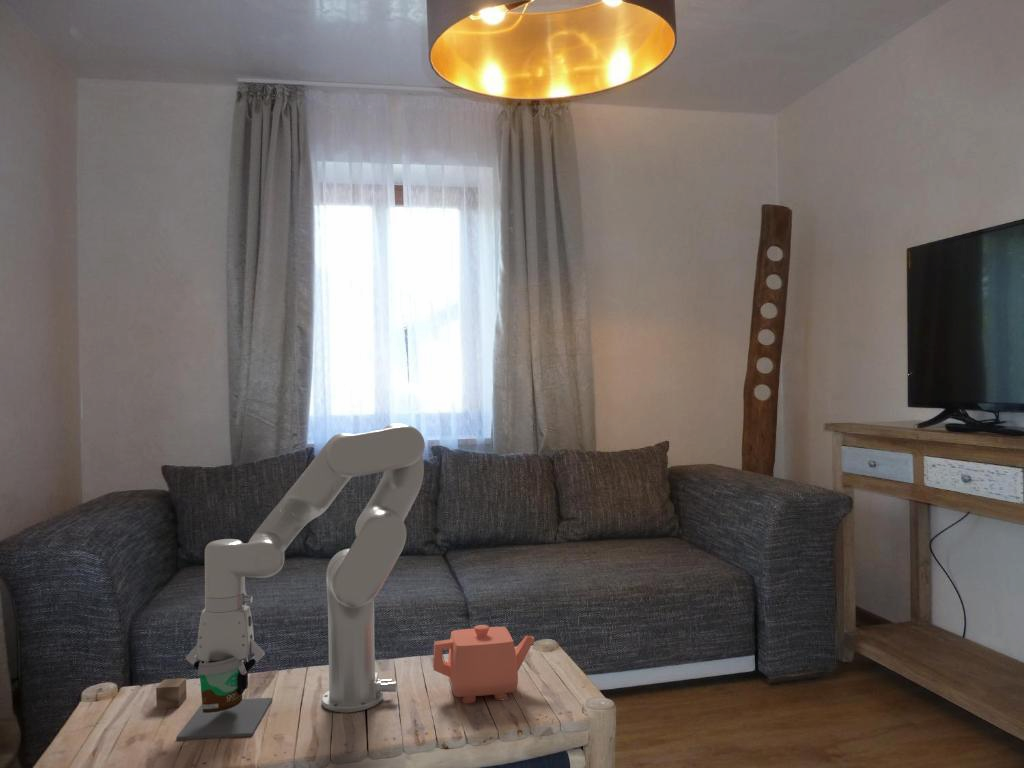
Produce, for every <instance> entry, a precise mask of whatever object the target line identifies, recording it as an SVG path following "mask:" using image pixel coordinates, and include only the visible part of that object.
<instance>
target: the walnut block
mask: <svg viewBox="0 0 1024 768" xmlns="http://www.w3.org/2000/svg"><path fill="white" fill-rule="evenodd" d="M155 690H156V691H155V695H156V696H155V697H156V698H155V699H156V704H155V705H156V710H161V709H162V710H166V709H179V708H180V707H181V706H182V705H183V704H184V703H185V701H187V677H182V678H167V679H163V680H162V681H161V682H160V683H159V684H158V685H157V686H156V689H155Z"/></svg>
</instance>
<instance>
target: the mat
mask: <svg viewBox="0 0 1024 768" xmlns="http://www.w3.org/2000/svg"><path fill="white" fill-rule="evenodd" d="M272 700H273V697H260V698H259V697H257V698H242V701H241V702H240V703H239V704H238V705H236V706H234V707H233V708H230V709H227V710H223V711H219V712H211V713H203V706H202V704H200V706H199V707H198V709H197V710H196V711H195V713H194V714H193V715H192V716H191V718H190V719H189V720H188V721H187V723H186V724H185V726H184V727H182V729H181V730H180V732H179V733H178V734H177V736H176V741H184V740H202V739H203V738H207V739H222V737H226V738H238V737H239V738H240V737H243V738H244V737H253V736H254V734H255V732H256V731H257V729H258V728H259V726H260V724H261V722H262V720H263V718H264V717H265V715H266V713H267V711H268V710H269V708H270V706H271V705H272V702H273V701H272ZM203 740H204V739H203Z"/></svg>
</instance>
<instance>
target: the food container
mask: <svg viewBox="0 0 1024 768" xmlns="http://www.w3.org/2000/svg"><path fill="white" fill-rule="evenodd" d="M248 658H249V657H248ZM248 658H247V659H248ZM248 660H249V659H248ZM244 663H246V659H245V660H244ZM240 666H241V661H239V660H236V658H235V657H233V658H230V659H227V660H223V661H211V662H208V663H199V667H198V670H197V675H198V676H199V682H200V692H201V693H200V694H201V705H202V706H203V713H211V712H219V711H223V710H227V709H230V708H233V707H234V706H236V705H238V704H239V703H240V702H241V701H242V699H243V694H242V695H239V694H238V675H239V674H240V670H239V668H238V667H240Z"/></svg>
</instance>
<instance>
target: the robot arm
mask: <svg viewBox="0 0 1024 768" xmlns="http://www.w3.org/2000/svg"><path fill="white" fill-rule="evenodd" d="M425 443H426V442H425V439H424V435H422V433H421V432H420V431H419V430H418V428H416V427H414V426H411V425H408V424H405V423H400V422H394V423H390V424H387V425H386V426H385V427H384V428H382V429H380V430H379V429H378V430H374V431H370V432H369V431H368V432H362V433H354V434H352V433H348V432H339V433H337V434H335V435H333V436H332V437H331V438H329V440H328V441H327V442H326V443H325V444H324V446H323V447H322V448H321V450H320V451H319V452H318V453H317V455H316V456H315V457H314V458H313V459H312V461H311V463H310V464H309V465H307V467H306V469H305V470H304V471H303V472H302V473H301V475H299V478H298V479H296V481H295V482H294V484H293V485H292V486H291V487H290V489H289V490H288V491H287V492H286V494H284V496H283V498H282V499H281V500H279V502H278V504H276V505H275V507H274V508H273V509H272V510H271V512H269V514H268V515H267V516H266V518H265V519H264V520H263V522H262V523H261V525H259V527H258V528H257V529H256V530H255V532H254V533H253V534H252V535H251V537H250V539H249V540H248V542H246V543H244V542H243V541H242V540H240V539H238V538H237V539H235V538H223V539H218V540H217V539H216V540H213V541H210V542H208V544H206V546H205V549H204V608H203V609H202V611H201V613H200V614H201V615H200V618H199V625H198V633H197V641H196V642H197V644H196V645H195V646H194V647H193V648H192V649H191V650H190V651H189V653H188V654H187V655H186V657H185V660H186V661H187V662H189V663H190V664H191V665H193V667H194V669H196V670H197V671H198V667H199V663H208V662H211V661H223V660H227V659H230V658H233V657H235V658H236V660H239V661H241V666H240V667H238V668H239V670H240V674H239V675H238V694H239V695H242V696H243V693H244V692H245V691H246V690H247V689H248V688H249V687H248V686H249V671H250V670H251V669H252V667H254V665H256V664H257V663H258V662H259V661H260V660H261V659H262V658H263V657H264V656H265V651H264V649H263V648H261V646H260V645H259V644H258V643H257V642H256V641H255V637H254V635H255V634H254V624H253V618H252V613H251V608H250V606H249V605H247V604H249V603H250V604H251V603H253V596H252V595H248V594H247V591H246V578H247V577H248V578H261V579H262V578H270V577H273V576H275V575H276V574H277V573H279V572H280V571H281V570H282V568H283V566H284V563H285V557H286V556H285V555H286V554H285V551H287V549H288V547H289V546H290V544H292V542H293V541H294V539H295V538H296V537H297V536H298V535H299V533H300V532H301V531H302V530H303V529H304V527H306V526H307V525H308V523H310V522H311V521H313V520H314V519H316V518H318V517H320V516H322V515H323V514H324V512H326V511H327V510H328V509H329V507H330V506H331V504H332V503H333V502H334V500H335V499H336V498H337V496H338V495H339V493H340V492H341V491H342V489H344V488H345V486H346V485H347V483H349V481H350V479H352V478H354V477H360V476H367V475H372V474H376V473H377V474H378V473H381V472H383V475H382V476H381V479H380V482H379V483H378V485H377V487H376V489H375V491H374V492H373V494H372V496H371V498H370V499H369V501H368V502H367V504H366V506H365V507H364V508H363V510H362V512H361V513H360V514H359V516H358V518H357V520H356V523H355V529H354V530H355V537H356V538H355V539H354V541H353V543H352V544H351V546H350V548H345V549H342V550H340V551H338V552H336V554H334V555H333V556H332V558H331V559H330V561H329V562H328V565H327V568H326V574H325V579H326V580H325V581H326V593H327V595H326V596H327V597H326V598H327V599H326V600H327V619H328V620H327V621H328V622H327V624H328V628H327V632H328V633H327V634H328V636H327V637H328V683H329V684H328V685H329V688H328V689H329V690H326V692H324V693H323V694H322V697H321V705H322V707H323V708H325V709H327V710H328V711H332V712H335V713H355V712H361V711H364V710H368V709H371V708H374V707H375V706H376V705H378V704H379V703H381V702H382V700H383V698H384V693H385V692H387V693H396V692H397V681H392V678H385V679H381V678H379V673H378V672H376V656H375V651H376V649H375V601H374V600H375V599H374V598H376V596H377V594H378V593H379V592H380V590H381V588H382V587H383V585H384V584H385V582H386V580H387V578H388V577H389V575H390V573H391V572H392V570H393V567H394V566H395V564H396V563H397V561H398V559H399V557H400V556H401V553H402V552H403V550H404V547H405V544H406V541H407V536H408V535H407V527H406V524H405V520H406V518H407V516H408V514H409V512H410V511H411V509H412V506H413V504H414V502H415V501H416V499H417V497H418V496H419V495H418V494H419V492H420V490H421V488H422V485H423V480H424V475H425V474H424V473H425V471H424V470H425V468H424V467H425V465H424V458H423V455H424V452H425V445H426V444H425ZM250 653H253V654H254V655H253V657H251V658H250V659H247V658H249V656H250ZM245 659H246V663H244V660H245Z"/></svg>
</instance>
